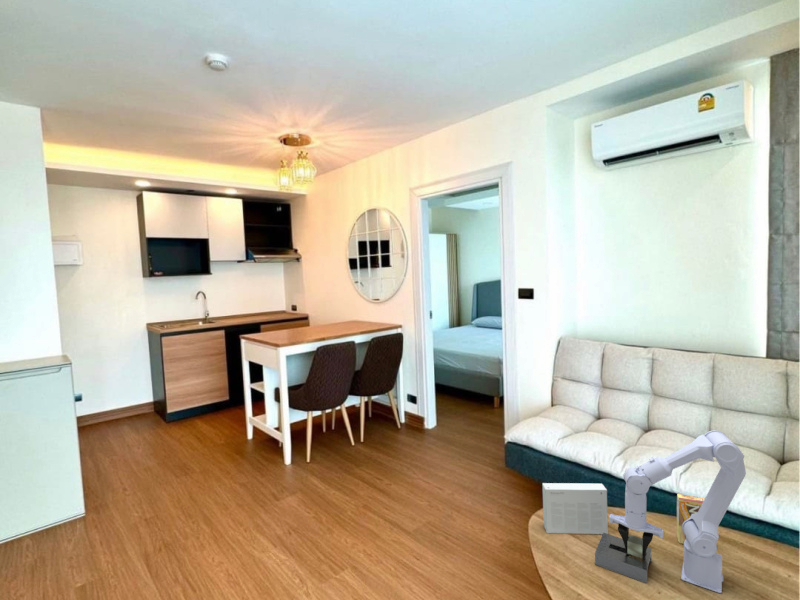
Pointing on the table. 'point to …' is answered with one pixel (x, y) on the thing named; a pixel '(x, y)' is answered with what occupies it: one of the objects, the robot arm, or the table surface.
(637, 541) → the peg
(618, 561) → the keyhole bracket
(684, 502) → the candy box
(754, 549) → the table surface
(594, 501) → the skincare box
